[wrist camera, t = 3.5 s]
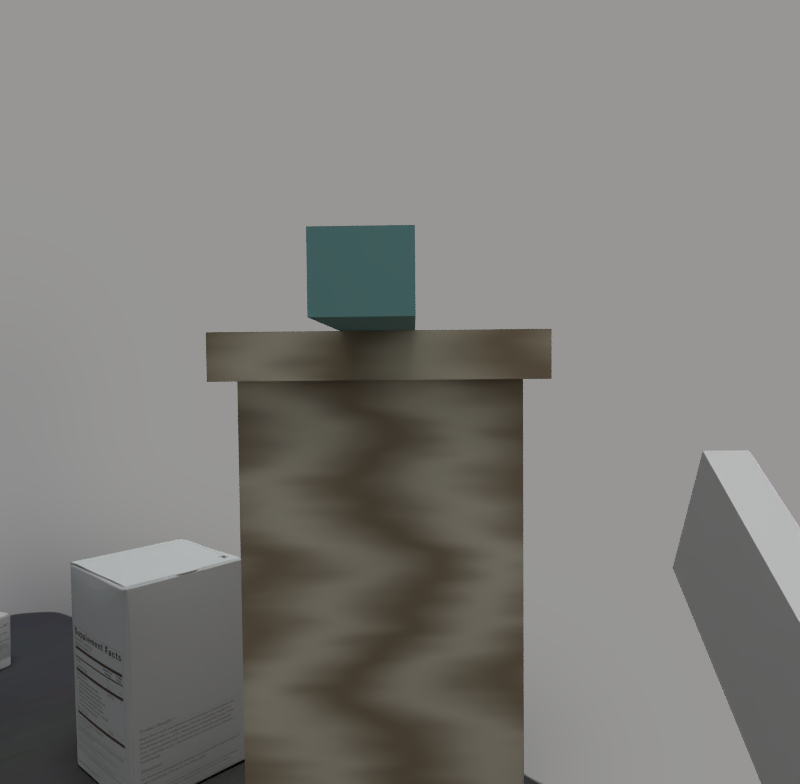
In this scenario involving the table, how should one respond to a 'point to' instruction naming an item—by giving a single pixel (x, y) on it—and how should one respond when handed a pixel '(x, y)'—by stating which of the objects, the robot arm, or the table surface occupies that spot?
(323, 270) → the teal slat
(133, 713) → the supplement box
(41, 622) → the table surface
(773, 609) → the robot arm
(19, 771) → the table surface
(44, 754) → the table surface
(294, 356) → the tall wooden pillar
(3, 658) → the ink cartridge box
